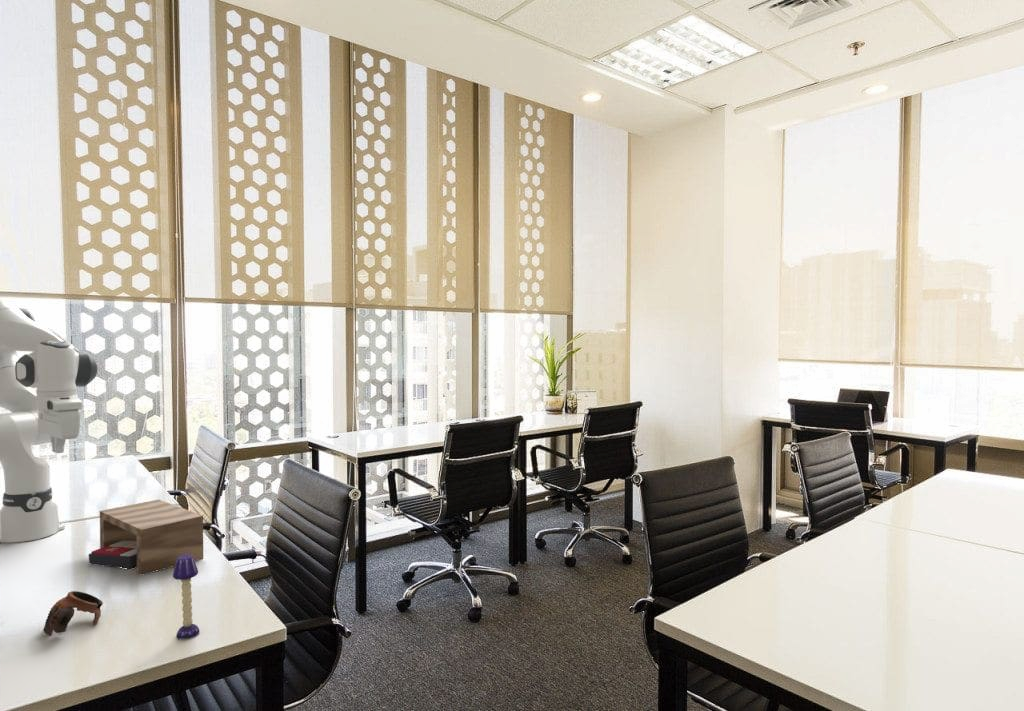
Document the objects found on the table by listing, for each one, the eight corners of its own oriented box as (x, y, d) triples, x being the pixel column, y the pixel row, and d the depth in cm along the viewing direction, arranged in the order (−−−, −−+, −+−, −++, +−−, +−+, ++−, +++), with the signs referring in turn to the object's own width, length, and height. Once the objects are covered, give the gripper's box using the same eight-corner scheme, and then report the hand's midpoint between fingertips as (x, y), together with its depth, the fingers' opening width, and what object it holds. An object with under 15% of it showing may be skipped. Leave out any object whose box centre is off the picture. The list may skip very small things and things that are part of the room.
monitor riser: (100, 552, 177) (99, 510, 176) (159, 537, 189) (158, 499, 189) (141, 575, 160) (141, 529, 159) (203, 557, 172) (203, 515, 172)
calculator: (123, 539, 178) (164, 541, 174) (124, 553, 178) (164, 556, 174) (87, 551, 168) (130, 554, 163) (88, 566, 168) (130, 570, 164)
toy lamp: (193, 640, 126) (192, 560, 125) (169, 640, 125) (168, 560, 125) (202, 629, 131) (202, 551, 130) (180, 629, 130) (179, 552, 130)
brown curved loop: (50, 623, 134) (73, 586, 137) (92, 639, 135) (114, 602, 138) (23, 634, 123) (49, 593, 125) (69, 651, 124) (94, 611, 127)
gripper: (30, 399, 168) (31, 449, 168) (56, 404, 156) (56, 458, 156) (57, 397, 173) (58, 446, 173) (84, 402, 161) (85, 455, 161)
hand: (58, 452), depth 165 cm, fingers closed
